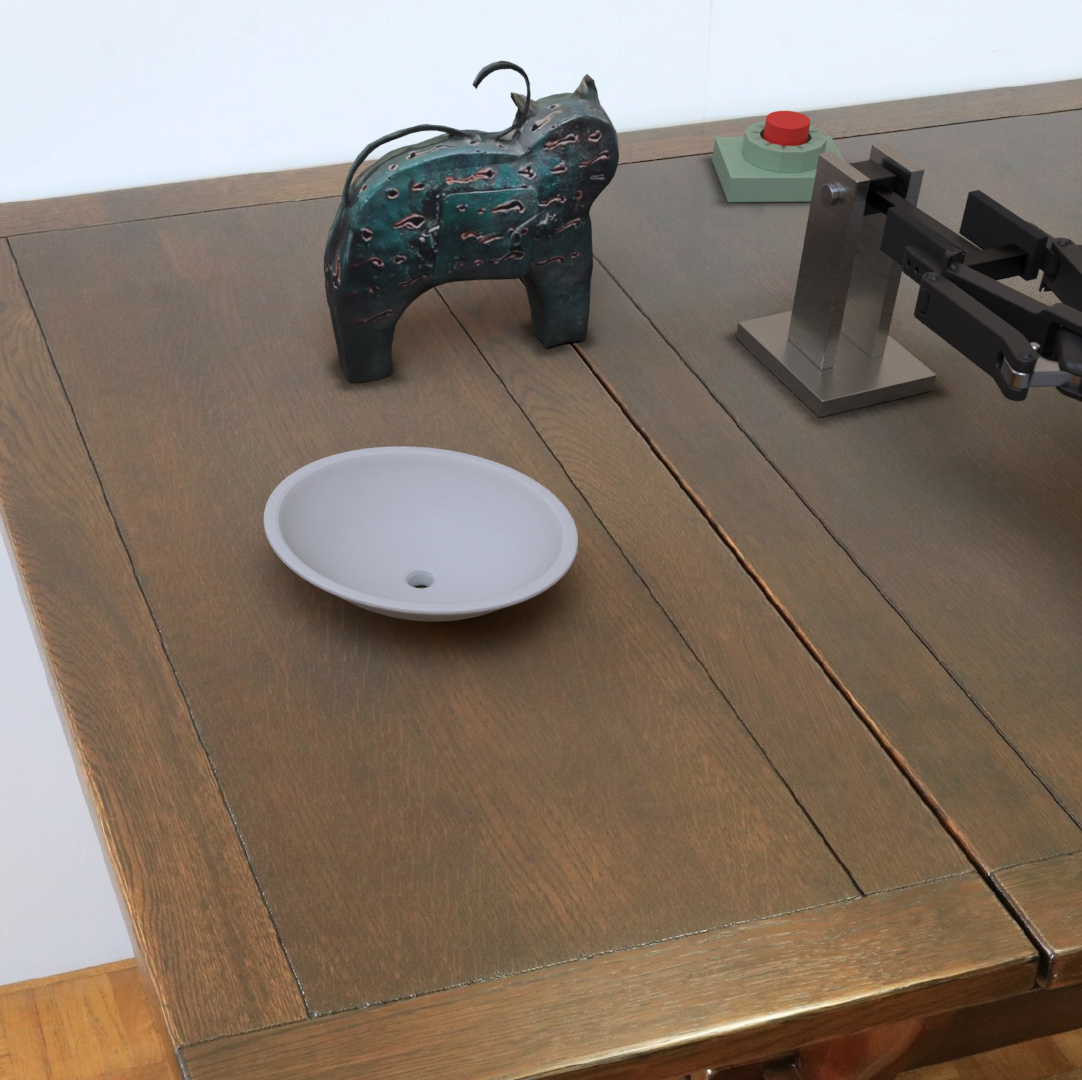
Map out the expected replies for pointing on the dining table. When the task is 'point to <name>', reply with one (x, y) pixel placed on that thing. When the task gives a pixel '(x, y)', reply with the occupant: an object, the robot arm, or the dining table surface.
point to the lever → (940, 226)
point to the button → (786, 128)
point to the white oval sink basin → (420, 532)
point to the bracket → (843, 299)
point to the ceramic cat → (471, 221)
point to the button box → (768, 166)
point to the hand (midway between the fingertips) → (929, 220)
